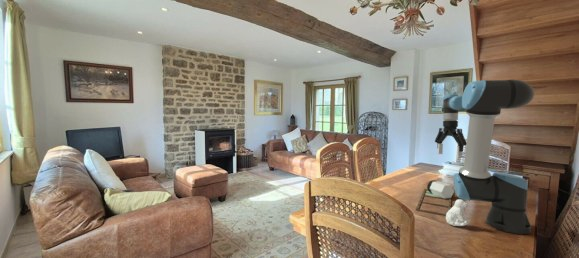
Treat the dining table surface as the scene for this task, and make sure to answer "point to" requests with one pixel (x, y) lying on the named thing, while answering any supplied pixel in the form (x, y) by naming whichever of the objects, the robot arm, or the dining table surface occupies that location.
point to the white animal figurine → (457, 214)
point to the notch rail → (433, 203)
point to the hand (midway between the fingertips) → (449, 155)
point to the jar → (440, 189)
